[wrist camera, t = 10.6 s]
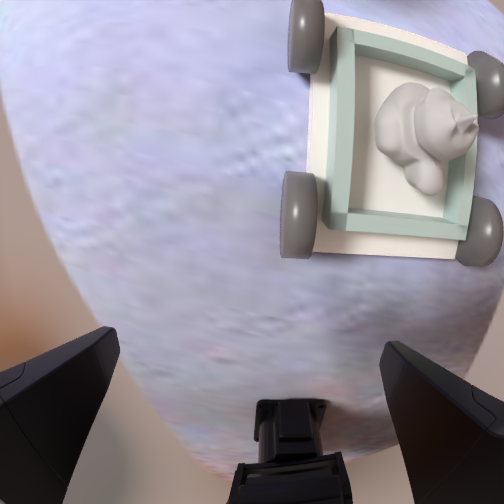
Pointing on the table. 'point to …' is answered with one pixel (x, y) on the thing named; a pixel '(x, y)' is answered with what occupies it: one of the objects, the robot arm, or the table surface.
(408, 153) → the white figurine
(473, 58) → the toy chassis
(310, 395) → the table surface
